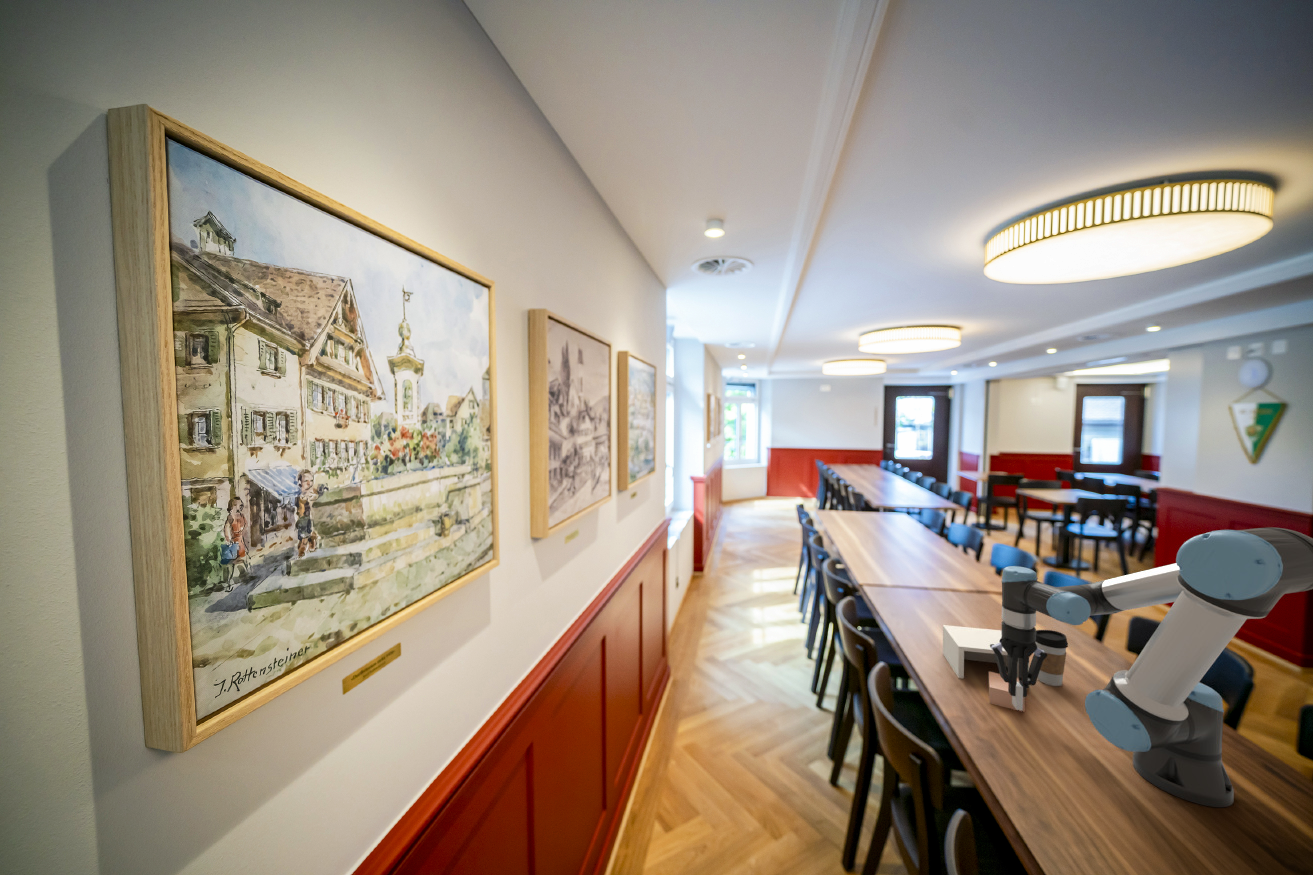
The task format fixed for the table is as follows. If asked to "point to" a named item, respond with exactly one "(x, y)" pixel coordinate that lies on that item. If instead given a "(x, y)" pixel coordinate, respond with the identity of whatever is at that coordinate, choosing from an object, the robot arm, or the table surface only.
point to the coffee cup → (1052, 656)
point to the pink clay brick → (1000, 692)
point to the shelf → (971, 646)
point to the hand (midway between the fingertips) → (1017, 706)
